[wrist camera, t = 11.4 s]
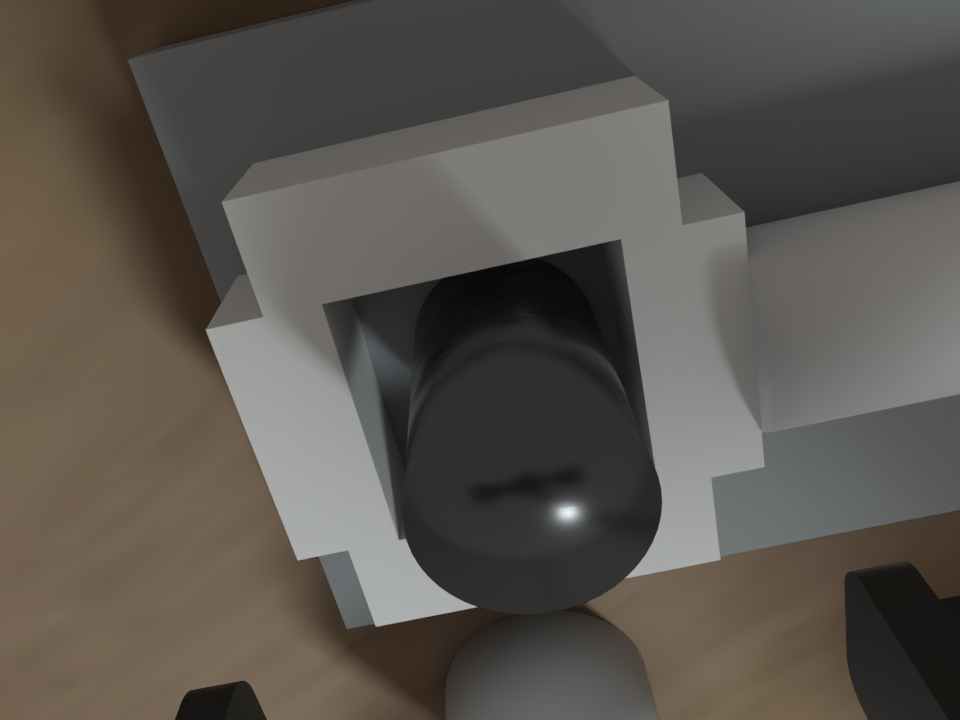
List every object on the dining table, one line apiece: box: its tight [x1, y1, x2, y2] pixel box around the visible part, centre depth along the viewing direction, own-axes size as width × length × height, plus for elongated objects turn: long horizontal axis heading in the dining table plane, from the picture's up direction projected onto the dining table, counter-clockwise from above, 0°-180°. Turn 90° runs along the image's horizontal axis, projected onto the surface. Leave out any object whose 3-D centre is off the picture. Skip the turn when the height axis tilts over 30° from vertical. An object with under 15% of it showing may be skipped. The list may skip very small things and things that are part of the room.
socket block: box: [127, 0, 960, 629], centre depth 19 cm, size 20×16×6 cm
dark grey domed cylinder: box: [402, 258, 662, 615], centre depth 18 cm, size 4×4×7 cm
